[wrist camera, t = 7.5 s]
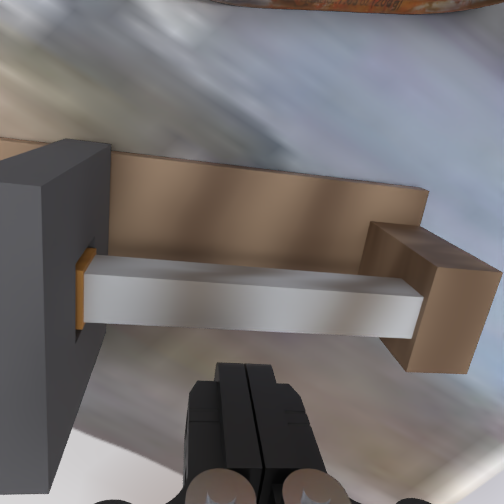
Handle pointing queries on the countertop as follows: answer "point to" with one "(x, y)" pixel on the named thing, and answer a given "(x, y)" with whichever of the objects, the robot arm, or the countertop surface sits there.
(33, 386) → the dark grey square plate
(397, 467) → the countertop surface
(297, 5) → the tin
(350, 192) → the rod stand
